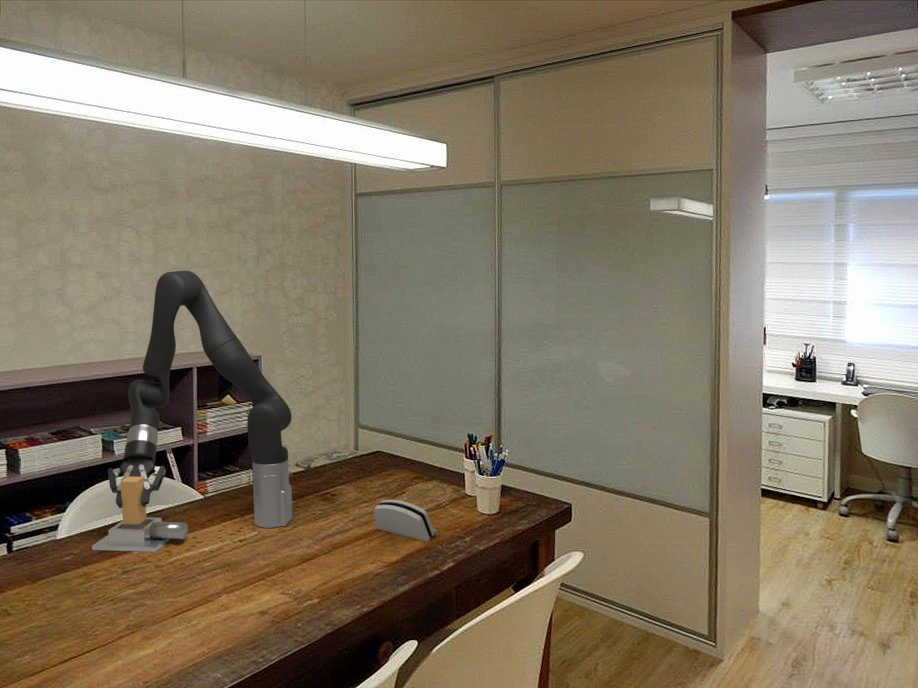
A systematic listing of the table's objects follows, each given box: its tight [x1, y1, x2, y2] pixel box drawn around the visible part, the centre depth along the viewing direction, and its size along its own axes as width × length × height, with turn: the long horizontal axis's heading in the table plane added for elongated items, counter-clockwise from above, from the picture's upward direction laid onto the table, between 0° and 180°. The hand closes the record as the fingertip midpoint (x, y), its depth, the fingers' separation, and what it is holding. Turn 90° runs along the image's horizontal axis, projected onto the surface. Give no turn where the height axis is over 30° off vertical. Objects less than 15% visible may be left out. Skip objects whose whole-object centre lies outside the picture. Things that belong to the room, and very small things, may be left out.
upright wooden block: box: [120, 476, 147, 525], centre depth 178 cm, size 4×4×11 cm
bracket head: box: [91, 516, 189, 553], centre depth 179 cm, size 20×12×5 cm, turn 86°
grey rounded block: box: [373, 499, 438, 542], centre depth 184 cm, size 17×5×10 cm, turn 58°
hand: (132, 505), depth 176 cm, fingers closed on upright wooden block, 5 cm apart
